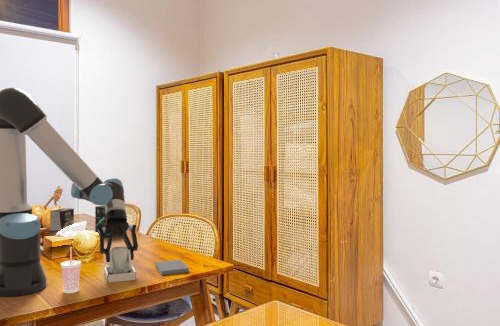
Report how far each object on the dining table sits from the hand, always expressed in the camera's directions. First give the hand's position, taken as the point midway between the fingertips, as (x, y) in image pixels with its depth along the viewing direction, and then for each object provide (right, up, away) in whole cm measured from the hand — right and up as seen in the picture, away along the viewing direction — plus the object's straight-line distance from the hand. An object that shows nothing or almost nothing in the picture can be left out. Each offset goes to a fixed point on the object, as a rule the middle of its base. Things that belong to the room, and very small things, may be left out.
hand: (121, 268), depth 146 cm
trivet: (+15, -3, +13) cm, 20 cm away
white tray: (-2, -4, +4) cm, 5 cm away
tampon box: (-27, 0, +70) cm, 75 cm away
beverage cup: (-13, -4, -11) cm, 17 cm away
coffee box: (-42, -1, +48) cm, 64 cm away
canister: (-2, -4, +4) cm, 5 cm away
